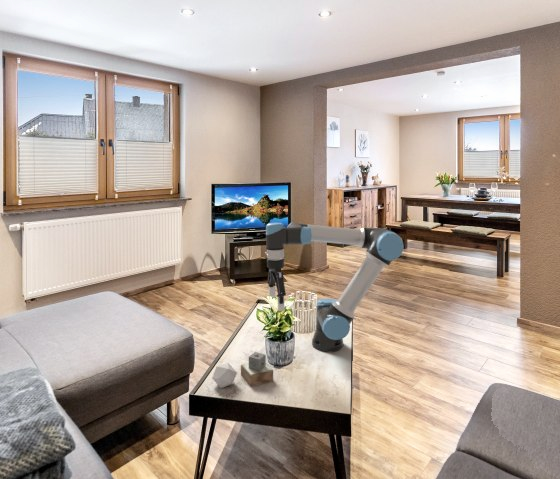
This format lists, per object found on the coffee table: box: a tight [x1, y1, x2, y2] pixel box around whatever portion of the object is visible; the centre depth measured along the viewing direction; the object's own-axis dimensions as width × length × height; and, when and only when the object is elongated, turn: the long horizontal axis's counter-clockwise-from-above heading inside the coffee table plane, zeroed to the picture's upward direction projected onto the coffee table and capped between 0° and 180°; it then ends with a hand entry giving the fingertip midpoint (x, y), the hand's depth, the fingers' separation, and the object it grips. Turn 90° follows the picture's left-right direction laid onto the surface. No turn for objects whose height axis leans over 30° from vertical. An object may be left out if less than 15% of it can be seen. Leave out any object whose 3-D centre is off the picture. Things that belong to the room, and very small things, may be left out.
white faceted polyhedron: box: [211, 362, 238, 389], centre depth 157 cm, size 8×9×10 cm
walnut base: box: [240, 362, 274, 388], centre depth 163 cm, size 10×10×5 cm
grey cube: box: [248, 351, 267, 371], centre depth 162 cm, size 5×5×5 cm
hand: (276, 305), depth 176 cm, fingers open, 13 cm apart
